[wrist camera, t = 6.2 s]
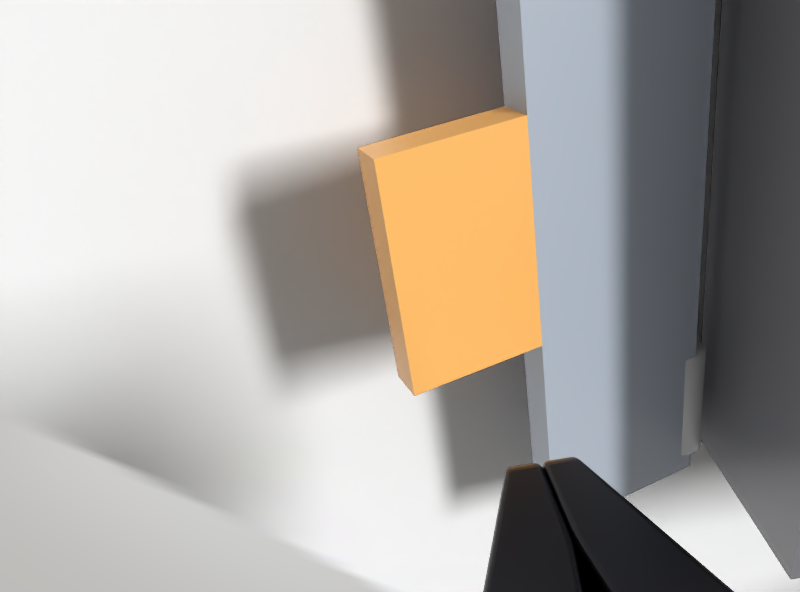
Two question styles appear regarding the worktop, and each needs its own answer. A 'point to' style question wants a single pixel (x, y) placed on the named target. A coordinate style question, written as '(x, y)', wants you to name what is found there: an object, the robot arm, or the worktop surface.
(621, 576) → the robot arm
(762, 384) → the cabinet housing
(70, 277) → the worktop surface
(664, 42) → the door
